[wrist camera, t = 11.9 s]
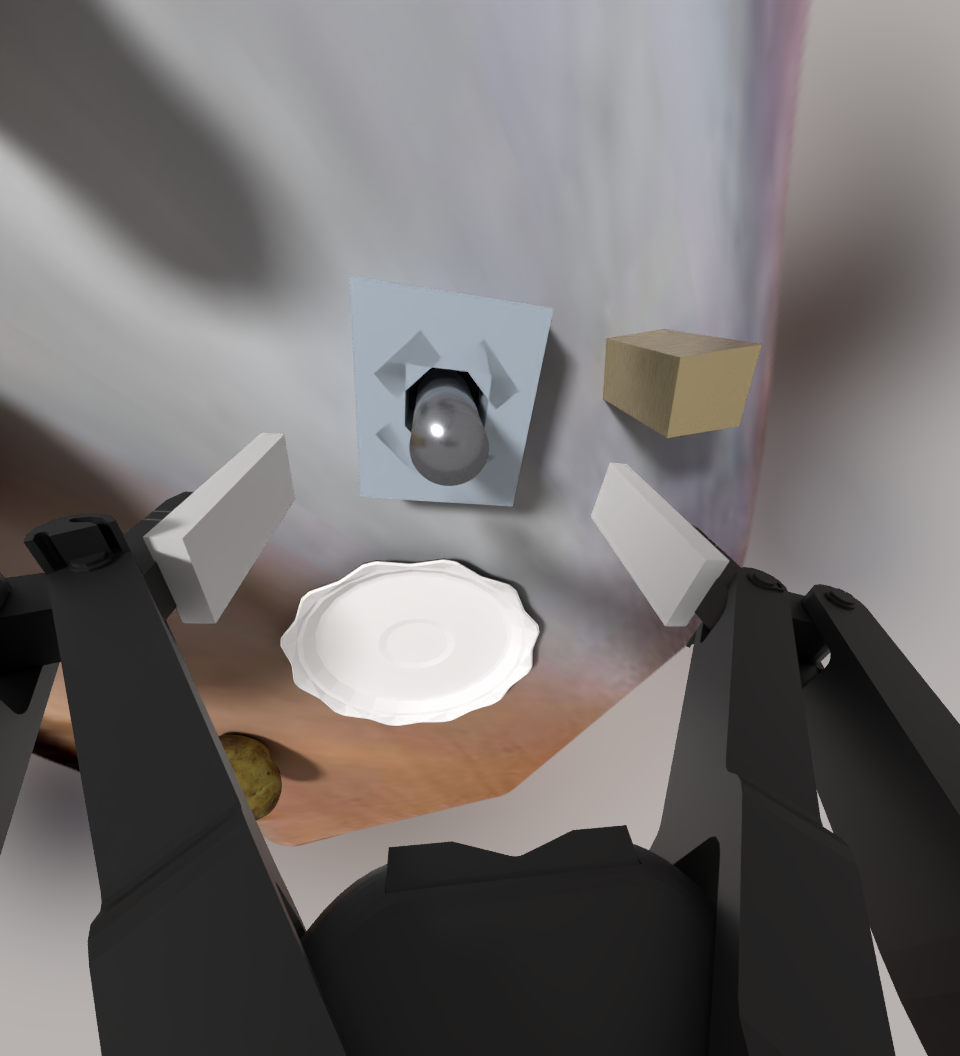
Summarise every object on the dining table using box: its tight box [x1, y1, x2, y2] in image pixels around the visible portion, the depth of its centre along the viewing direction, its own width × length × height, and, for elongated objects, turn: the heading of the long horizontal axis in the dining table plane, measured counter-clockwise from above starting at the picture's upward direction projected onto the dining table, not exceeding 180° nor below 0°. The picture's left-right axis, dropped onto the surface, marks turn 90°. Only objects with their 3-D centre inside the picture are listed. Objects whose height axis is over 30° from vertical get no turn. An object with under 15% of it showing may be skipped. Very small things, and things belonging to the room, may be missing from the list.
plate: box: [280, 559, 540, 726], centre depth 44 cm, size 29×29×2 cm
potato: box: [218, 735, 282, 820], centre depth 50 cm, size 8×13×8 cm, turn 6°
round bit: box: [409, 368, 489, 486], centre depth 24 cm, size 4×4×12 cm
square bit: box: [603, 329, 762, 438], centre depth 25 cm, size 5×5×10 cm
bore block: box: [349, 276, 553, 506], centre depth 27 cm, size 14×12×5 cm
